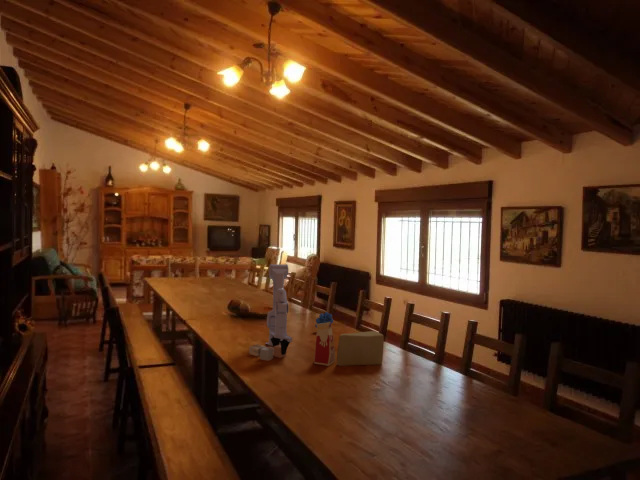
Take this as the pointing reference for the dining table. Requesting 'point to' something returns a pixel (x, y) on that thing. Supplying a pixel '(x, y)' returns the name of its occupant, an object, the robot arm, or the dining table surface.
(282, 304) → the robot arm
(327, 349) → the milk carton
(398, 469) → the dining table surface
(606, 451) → the dining table surface
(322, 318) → the grapes
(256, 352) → the birch base block
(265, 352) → the grey painted block
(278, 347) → the terracotta block
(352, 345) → the cheese
